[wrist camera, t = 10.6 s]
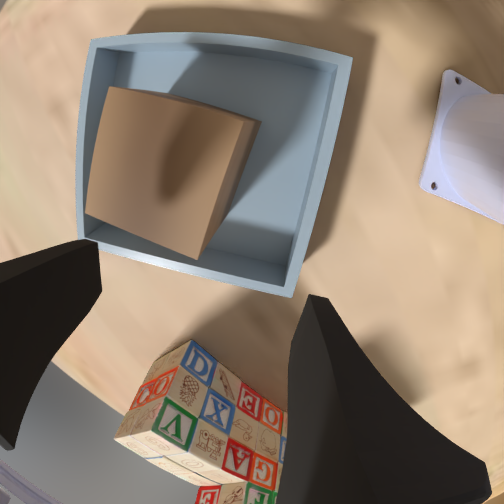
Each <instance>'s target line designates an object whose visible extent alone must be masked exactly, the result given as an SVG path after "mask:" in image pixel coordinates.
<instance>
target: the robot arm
mask: <svg viewBox="0 0 504 504" xmlns="http://www.w3.org/2000/svg"><path fill="white" fill-rule="evenodd" d="M455 78H457V79H458V81H459V84H457V83H456V81H455ZM433 182H435V188H433V189H432V188H431V184H432V183H433ZM419 186H420V188H421V189H423V190H424V191H426V192H429V193H431V194H434V195H437V196H439V197H442V198H444V199H447V200H449V201H452V202H454V203H456V204H459V205H461V206H464V207H466V208H468V209H471V210H473V211H475V212H477V213H480V214H482V215H484V216H486V217H488V218H490V219H493V220H495V221H497V222H499V223H501V224H503V225H504V94H491V93H490V92H488V91H487V90H485V89H484V88H482V87H481V86H479V85H477V84H476V83H474V82H472V81H471V80H469V79H467V78H466V77H464V76H462V75H460V74H459V73H457V72H455V71H453V70H450V69H449V70H445V71H444V72H443V76H442V83H441V89H440V95H439V100H438V105H437V111H436V115H435V120H434V125H433V129H432V134H431V138H430V142H429V146H428V150H427V154H426V158H425V161H424V165H423V168H422V172H421V175H420V179H419ZM101 292H102V284H101V274H100V263H99V249H98V242H95V241H91V240H88V239H80V240H75V241H71V242H67V243H64V244H60V245H57V246H54V247H51V248H47V249H44V250H41V251H38V252H35V253H32V254H29V255H25V256H22V257H19V258H16V259H12V260H9V261H6V262H2V263H0V445H1V446H2V447H3V448H4V449H5V450H13V449H14V448H15V443H16V439H17V436H18V432H19V429H20V425H21V422H22V419H23V416H24V413H25V411H26V408H27V406H28V403H29V401H30V398H31V396H32V394H33V392H34V390H35V388H36V386H37V384H38V382H39V380H40V378H41V376H42V374H43V373H44V371H45V369H46V368H47V365H48V364H49V362H50V361H51V359H52V358H53V357H54V355H55V354H56V352H57V351H58V350H59V349H60V347H61V346H62V345H63V344H64V342H65V341H66V340H67V339H68V337H69V336H70V335H71V334H72V332H73V331H74V330H75V329H76V328H77V326H78V325H79V324H80V323H81V321H82V320H83V319H84V318H85V317H86V315H87V314H88V313H89V312H90V310H91V308H92V307H93V305H94V304H95V302H96V301H97V299H98V297H99V296H100V294H101ZM0 484H2V485H3V486H4V487H5V488H6V489H8V490H9V491H10V492H11V493H13V494H14V495H15V496H16V497H18V498H19V499H20V500H22V501H23V502H24V503H26V504H63V503H61V502H59V501H58V500H56V499H55V498H53V497H51V496H50V495H48V494H47V493H45V492H44V491H42V490H41V489H39V488H38V487H36V486H35V485H33V484H32V483H31V482H29V481H28V480H26V479H25V478H23V477H22V476H21V475H20V474H18V473H17V472H16V471H14V470H13V469H12V468H11V467H10V466H8V465H7V464H6V463H4V462H3V461H2V460H1V459H0ZM491 494H492V490H491V485H490V481H489V476H488V472H487V468H486V464H485V462H483V461H482V460H480V459H478V458H477V457H475V456H474V455H472V454H470V453H469V452H467V451H466V450H464V449H462V448H461V447H459V446H458V445H456V444H455V443H453V442H452V441H450V440H449V439H448V438H447V437H445V436H444V435H443V434H441V433H440V432H439V431H437V430H436V429H435V428H434V427H432V426H431V425H430V424H429V423H428V422H426V421H425V420H424V419H423V418H422V417H421V416H420V415H419V414H418V413H417V412H416V411H414V410H413V409H412V408H411V407H410V406H409V405H408V404H407V403H406V402H405V401H404V400H403V399H402V398H401V397H400V396H399V395H398V394H397V393H396V392H395V390H394V389H393V388H392V387H391V386H390V385H389V384H388V383H387V381H386V380H385V379H384V378H383V377H382V376H381V374H380V373H379V372H378V371H377V370H376V368H375V367H374V366H373V364H372V363H371V362H370V360H369V359H368V358H367V356H366V355H365V354H364V352H363V351H362V349H361V348H360V347H359V345H358V344H357V342H356V341H355V339H354V338H353V336H352V335H351V333H350V332H349V330H348V329H347V327H346V326H345V324H344V323H343V321H342V319H341V318H340V316H339V315H338V313H337V312H336V310H335V308H334V307H333V305H332V304H331V302H330V301H329V299H328V298H325V297H320V296H315V295H311V294H309V295H308V298H307V301H306V304H305V307H304V309H303V312H302V315H301V318H300V321H299V323H298V326H297V329H296V331H295V334H294V337H293V339H292V342H291V350H290V357H289V365H288V420H287V440H286V447H285V454H284V460H283V467H282V472H281V478H280V483H279V488H278V493H277V498H276V503H275V504H482V503H483V502H484V501H486V500H487V499H488V498H489V497H490V496H491ZM9 501H10V496H9V495H8V494H7V493H6V491H5V490H4V489H3V488H2V487H0V504H8V503H9Z"/></svg>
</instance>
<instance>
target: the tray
mask: <svg viewBox="0 0 504 504" xmlns="http://www.w3.org/2000/svg"><path fill="white" fill-rule="evenodd" d="M352 61H353V57H349V56H346V55H343V54H339V53H335V52H331V51H328V50H324V49H319V48H315V47H311V46H306V45H302V44H297V43H291V42H286V41H280V40H274V39H268V38H261V37H253V36H244V35H234V34H222V33H203V32H160V33H142V34H129V35H120V36H111V37H104V38H97V39H91V42H90V46H89V51H88V56H87V61H86V66H85V72H84V78H83V85H82V92H81V99H80V108H79V118H78V130H77V145H76V216H77V232H78V240H80V239H88V240H91V241H95V242H98V249H99V250H102V251H105V252H109V253H112V254H116V255H119V256H123V257H127V258H130V259H134V260H138V261H141V262H145V263H149V264H152V265H156V266H160V267H164V268H168V269H171V270H175V271H179V272H183V273H187V274H191V275H195V276H199V277H203V278H207V279H211V280H215V281H219V282H223V283H228V284H232V285H236V286H240V287H244V288H249V289H253V290H257V291H262V292H266V293H271V294H275V295H280V296H284V297H289V298H292V296H293V293H294V290H295V286H296V283H297V280H298V277H299V273H300V270H301V267H302V263H303V260H304V257H305V253H306V250H307V246H308V243H309V240H310V236H311V233H312V229H313V225H314V222H315V218H316V215H317V211H318V207H319V204H320V200H321V196H322V192H323V188H324V185H325V181H326V177H327V173H328V169H329V165H330V161H331V157H332V153H333V149H334V145H335V140H336V136H337V132H338V127H339V123H340V119H341V114H342V110H343V105H344V100H345V96H346V91H347V86H348V81H349V76H350V71H351V66H352ZM109 86H111V87H123V88H132V89H141V90H149V91H156V92H163V93H169V94H173V95H177V96H181V97H185V98H188V99H192V100H196V101H199V102H203V103H206V104H210V105H213V106H216V107H220V108H223V109H226V110H229V111H232V112H235V113H238V114H241V115H244V116H247V117H250V118H253V119H256V120H259V121H262V123H261V125H260V128H259V131H258V133H257V136H256V138H255V141H254V144H253V146H252V149H251V152H250V154H249V157H248V160H247V162H246V165H245V168H244V171H243V173H242V176H241V179H240V182H239V184H238V187H237V190H236V193H235V195H234V198H233V201H232V204H231V207H230V209H229V212H228V215H227V216H226V218H225V219H224V221H223V222H222V224H221V225H220V227H219V228H218V230H217V231H216V233H215V234H214V236H213V237H212V239H211V240H210V242H209V243H208V245H207V246H206V248H205V249H204V251H203V252H202V254H201V255H200V257H199V258H198V260H196V259H193V258H191V257H188V256H186V255H183V254H181V253H178V252H176V251H173V250H171V249H169V248H166V247H164V246H161V245H159V244H156V243H154V242H152V241H149V240H147V239H144V238H142V237H140V236H137V235H135V234H132V233H130V232H128V231H125V230H123V229H121V228H118V227H116V226H114V225H111V224H109V223H107V222H104V221H102V220H100V219H97V218H95V217H93V216H90V215H88V214H86V213H85V209H86V200H87V191H88V184H89V177H90V170H91V164H92V158H93V153H94V148H95V142H96V138H97V133H98V128H99V124H100V119H101V115H102V111H103V107H104V103H105V100H106V96H107V92H108V89H109Z"/></svg>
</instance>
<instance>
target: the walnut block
mask: <svg viewBox="0 0 504 504" xmlns="http://www.w3.org/2000/svg"><path fill="white" fill-rule="evenodd" d="M261 123H262V121H259V120H256V119H253V118H250V117H247V116H244V115H241V114H238V113H235V112H232V111H229V110H226V109H223V108H220V107H216V106H213V105H210V104H206V103H203V102H199V101H196V100H192V99H188V98H185V97H181V96H177V95H173V94H169V93H163V92H156V91H149V90H141V89H132V88H123V87H111V86H109V89H108V92H107V96H106V100H105V103H104V107H103V111H102V115H101V119H100V124H99V128H98V133H97V138H96V142H95V148H94V153H93V158H92V164H91V170H90V177H89V184H88V191H87V200H86V209H85V213H86V214H88V215H90V216H93V217H95V218H97V219H100V220H102V221H104V222H107V223H109V224H111V225H114V226H116V227H118V228H121V229H123V230H125V231H128V232H130V233H132V234H135V235H137V236H140V237H142V238H144V239H147V240H149V241H152V242H154V243H156V244H159V245H161V246H164V247H166V248H169V249H171V250H173V251H176V252H178V253H181V254H183V255H186V256H188V257H191V258H193V259H196V260H198V258H199V257H200V255H201V254H202V252H203V251H204V249H205V248H206V246H207V245H208V243H209V242H210V240H211V239H212V237H213V236H214V234H215V233H216V231H217V230H218V228H219V227H220V225H221V224H222V222H223V221H224V219H225V218H226V216H227V215H228V212H229V209H230V207H231V204H232V201H233V198H234V195H235V193H236V190H237V187H238V184H239V182H240V179H241V176H242V173H243V171H244V168H245V165H246V162H247V160H248V157H249V154H250V152H251V149H252V146H253V144H254V141H255V138H256V136H257V133H258V131H259V128H260V125H261Z"/></svg>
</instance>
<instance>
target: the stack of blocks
mask: <svg viewBox="0 0 504 504" xmlns="http://www.w3.org/2000/svg"><path fill="white" fill-rule="evenodd" d="M287 420H288V414H287V413H286V412H284V411H282V410H280V409H279V408H277V407H276V406H274V405H273V404H272V403H270V402H269V401H268V400H266V399H265V398H263V397H262V396H260V395H259V394H258V393H256V392H255V391H254V390H253V389H251V388H250V387H249V386H247V385H246V384H245V383H243V382H241V380H240V379H239V378H238V377H237V376H235V375H234V374H233V373H232V372H230V371H229V370H228V369H227V368H225V367H224V366H223V365H222V364H220V363H219V362H217V361H216V359H215V358H213V357H212V356H211V355H210V354H209V353H207V352H206V351H205V350H204V349H202V348H201V347H200V346H199V345H198V344H197V343H196V342H194V341H193V340H190V341H189V342H187V343H185V344H183V345H182V346H180V347H179V348H177V349H175V350H174V351H172V352H170V353H168V354H166V355H164V356H163V357H161V358H160V359H158V360H156V361H155V362H154V363H153V364H152V366H151V368H150V369H149V371H148V373H147V375H146V378H145V380H144V382H143V384H142V385H141V386H140V388H139V390H138V392H137V394H136V396H135V398H134V400H133V402H132V405H131V407H130V409H129V411H128V412H127V413H126V415H125V417H124V419H123V421H122V423H121V425H120V427H119V429H118V431H117V433H116V435H115V438H114V440H116V441H117V442H119V443H120V444H122V445H123V446H125V447H127V448H128V449H130V450H131V451H133V452H135V453H136V454H138V455H140V456H142V457H144V458H145V459H146V460H147V461H149V462H151V463H153V464H155V465H157V466H158V467H160V468H162V469H164V470H166V471H168V472H170V473H172V474H174V475H175V476H177V477H179V478H181V479H184V480H186V481H188V482H190V483H193V484H195V485H199V486H200V488H199V490H198V494H197V498H196V502H195V504H275V503H276V498H277V493H278V488H279V483H280V478H281V472H282V467H283V460H284V454H285V447H286V440H287Z"/></svg>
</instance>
